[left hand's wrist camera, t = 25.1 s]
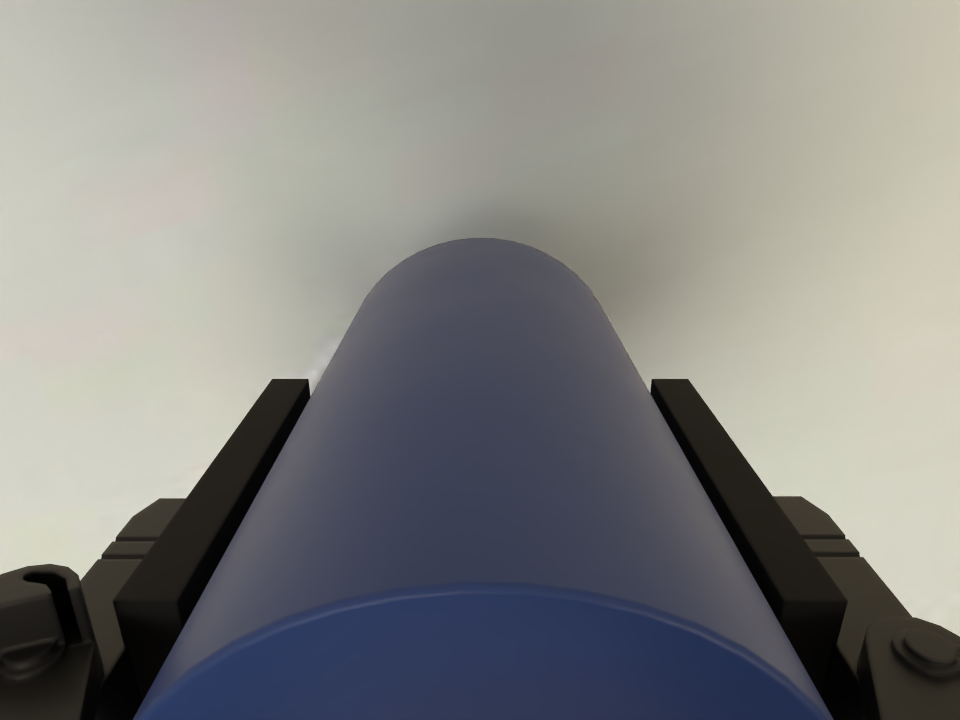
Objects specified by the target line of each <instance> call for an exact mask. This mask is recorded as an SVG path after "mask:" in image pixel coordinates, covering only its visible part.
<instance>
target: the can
mask: <svg viewBox="0 0 960 720" xmlns="http://www.w3.org/2000/svg"><path fill="white" fill-rule="evenodd" d="M133 720H834V719H833V718H832V716H831V714H830V712H829V710H828V709H827V707H826V705H825V703H824V702H823V700H822V698H821V696H820V695H819V693H818V691H817V689H816V687H815V686H814V684H813V682H812V680H811V679H810V677H809V675H808V673H807V671H806V670H805V668H804V666H803V664H802V663H801V661H800V659H799V657H798V655H797V654H796V652H795V650H794V648H793V647H792V645H791V643H790V641H789V639H788V638H787V636H786V634H785V632H784V631H783V629H782V627H781V625H780V623H779V622H778V620H777V618H776V616H775V615H774V613H773V611H772V609H771V607H770V606H769V604H768V602H767V600H766V599H765V597H764V595H763V593H762V591H761V590H760V588H759V586H758V584H757V583H756V581H755V579H754V577H753V575H752V574H751V572H750V570H749V568H748V567H747V565H746V563H745V561H744V559H743V558H742V556H741V554H740V552H739V551H738V549H737V547H736V545H735V543H734V542H733V540H732V538H731V536H730V535H729V533H728V531H727V529H726V528H725V526H724V524H723V522H722V520H721V519H720V517H719V515H718V513H717V512H716V510H715V508H714V506H713V504H712V503H711V501H710V499H709V497H708V496H707V494H706V492H705V490H704V488H703V487H702V485H701V483H700V481H699V480H698V478H697V476H696V474H695V472H694V471H693V469H692V467H691V465H690V464H689V462H688V460H687V458H686V456H685V455H684V453H683V451H682V449H681V448H680V446H679V444H678V442H677V440H676V439H675V437H674V435H673V433H672V432H671V430H670V428H669V426H668V424H667V423H666V421H665V419H664V417H663V416H662V414H661V412H660V410H659V408H658V407H657V405H656V403H655V401H654V400H653V398H652V396H651V394H650V392H649V391H648V389H647V387H646V385H645V384H644V382H643V380H642V378H641V376H640V375H639V373H638V371H637V369H636V368H635V366H634V364H633V362H632V360H631V359H630V357H629V355H628V353H627V352H626V350H625V348H624V346H623V345H622V343H621V341H620V339H619V337H618V336H617V334H616V332H615V330H614V329H613V327H612V325H611V323H610V321H609V320H608V318H607V316H606V314H605V313H604V311H603V309H602V307H601V305H600V304H599V302H598V300H597V299H596V298H595V296H594V295H593V293H592V292H591V290H590V289H589V288H588V287H587V285H586V284H585V283H584V282H583V281H582V280H581V279H580V278H579V277H578V276H577V275H576V274H575V273H574V272H572V271H571V270H570V269H569V268H568V267H566V266H565V265H564V264H563V263H561V262H559V261H558V260H556V259H554V258H553V257H551V256H550V255H548V254H546V253H544V252H541V251H539V250H537V249H535V248H532V247H530V246H527V245H523V244H520V243H516V242H513V241H507V240H500V239H494V238H470V239H461V240H454V241H450V242H446V243H442V244H438V245H435V246H432V247H430V248H427V249H425V250H422V251H420V252H418V253H416V254H414V255H412V256H411V257H409V258H407V259H405V260H403V261H402V262H401V263H399V264H398V265H397V266H395V267H394V268H393V269H391V270H390V271H389V272H388V273H387V274H386V275H385V276H384V277H383V278H382V279H381V280H380V281H379V282H378V283H377V284H376V285H375V286H374V287H373V289H372V290H371V291H370V293H369V294H368V295H367V297H366V298H365V300H364V302H363V303H362V305H361V307H360V309H359V311H358V312H357V314H356V316H355V318H354V320H353V321H352V323H351V325H350V327H349V329H348V330H347V332H346V334H345V336H344V338H343V340H342V341H341V343H340V345H339V347H338V349H337V350H336V352H335V354H334V356H333V358H332V359H331V361H330V363H329V365H328V367H327V369H326V370H325V372H324V374H323V376H322V378H321V379H320V381H319V383H318V385H317V387H316V388H315V390H314V392H313V394H312V396H311V398H310V399H309V401H308V403H307V405H306V407H305V408H304V410H303V412H302V414H301V416H300V417H299V419H298V421H297V423H296V425H295V426H294V428H293V430H292V432H291V434H290V436H289V437H288V439H287V441H286V443H285V445H284V446H283V448H282V450H281V452H280V454H279V455H278V457H277V459H276V461H275V463H274V465H273V466H272V468H271V470H270V472H269V474H268V475H267V477H266V479H265V481H264V483H263V484H262V486H261V488H260V490H259V492H258V494H257V495H256V497H255V499H254V501H253V503H252V504H251V506H250V508H249V510H248V512H247V513H246V515H245V517H244V519H243V521H242V523H241V524H240V526H239V528H238V530H237V532H236V533H235V535H234V537H233V539H232V541H231V542H230V544H229V546H228V548H227V550H226V552H225V553H224V555H223V557H222V559H221V561H220V562H219V564H218V566H217V568H216V570H215V571H214V573H213V575H212V577H211V579H210V581H209V582H208V584H207V586H206V588H205V590H204V591H203V593H202V595H201V597H200V599H199V600H198V602H197V604H196V606H195V608H194V610H193V611H192V613H191V615H190V617H189V619H188V620H187V622H186V624H185V626H184V628H183V629H182V631H181V633H180V635H179V637H178V639H177V640H176V642H175V644H174V646H173V648H172V649H171V651H170V653H169V655H168V657H167V658H166V660H165V662H164V664H163V666H162V668H161V669H160V671H159V673H158V675H157V677H156V678H155V680H154V682H153V684H152V686H151V687H150V689H149V691H148V693H147V695H146V697H145V698H144V700H143V702H142V704H141V706H140V707H139V709H138V711H137V713H136V715H135V716H134V718H133Z"/></svg>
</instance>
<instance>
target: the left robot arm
mask: <svg viewBox="0 0 960 720" xmlns="http://www.w3.org/2000/svg"><path fill="white" fill-rule="evenodd" d="M650 394H651V396H652V398H653V400H654V401H655V403H656V405H657V407H658V408H659V410H660V412H661V414H662V416H663V417H664V419H665V421H666V423H667V424H668V426H669V428H670V430H671V432H672V433H673V435H674V437H675V439H676V440H677V442H678V444H679V446H680V448H681V449H682V451H683V453H684V455H685V456H686V458H687V460H688V462H689V464H690V465H691V467H692V469H693V471H694V472H695V474H696V476H697V478H698V480H699V481H700V483H701V485H702V487H703V488H704V490H705V492H706V494H707V496H708V497H709V499H710V501H711V503H712V504H713V506H714V508H715V510H716V512H717V513H718V515H719V517H720V519H721V520H722V522H723V524H724V526H725V528H726V529H727V531H728V533H729V535H730V536H731V538H732V540H733V542H734V543H735V545H736V547H737V549H738V551H739V552H740V554H741V556H742V558H743V559H744V561H745V563H746V565H747V567H748V568H749V570H750V572H751V574H752V575H753V577H754V579H755V581H756V583H757V584H758V586H759V588H760V590H761V591H762V593H763V595H764V597H765V599H766V600H767V602H768V604H769V606H770V607H771V609H772V611H773V613H774V615H775V616H776V618H777V620H778V622H779V623H780V625H781V627H782V629H783V631H784V632H785V634H786V636H787V638H788V639H789V641H790V643H791V645H792V647H793V648H794V650H795V652H796V654H797V655H798V657H799V659H800V661H801V663H802V664H803V666H804V668H805V670H806V671H807V673H808V675H809V677H810V679H811V680H812V682H813V684H814V686H815V687H816V689H817V691H818V693H819V695H820V696H821V698H822V700H823V702H824V703H825V705H826V707H827V709H828V710H829V712H830V714H831V716H832V718H833V719H834V720H960V637H959V636H958V635H956V634H954V633H952V632H950V631H949V630H947V629H945V628H943V627H941V626H939V625H936V624H933V623H930V622H927V621H924V620H921V619H918V618H913V617H912V616H911V615H910V614H909V613H908V611H907V610H906V609H905V608H904V606H903V605H902V604H901V603H900V602H899V600H898V599H897V598H896V597H895V595H894V594H893V593H892V592H891V591H890V589H889V588H888V587H887V586H886V584H885V583H884V582H883V581H882V580H881V578H880V577H879V576H878V575H877V574H876V572H875V571H874V570H873V569H872V567H871V566H870V565H869V564H868V563H867V561H866V560H865V559H864V558H863V557H860V555H859V552H858V550H857V549H856V548H855V547H854V546H853V544H852V543H851V542H850V541H849V539H845V535H844V533H843V532H842V531H841V530H840V528H839V527H838V526H837V525H836V524H835V522H834V521H833V520H832V519H831V517H830V516H829V515H828V514H827V513H825V512H824V511H822V510H821V509H819V508H818V507H816V506H815V505H813V504H812V503H810V502H809V501H807V500H806V499H804V498H803V497H801V496H772V495H771V493H770V492H769V491H768V489H767V488H766V487H765V485H764V484H763V482H762V481H761V480H760V478H759V477H758V475H757V474H756V473H755V471H754V470H753V468H752V467H751V466H750V464H749V463H748V462H747V460H746V459H745V457H744V456H743V455H742V453H741V452H740V450H739V449H738V448H737V446H736V445H735V444H734V442H733V441H732V439H731V438H730V437H729V435H728V434H727V432H726V431H725V430H724V428H723V427H722V425H721V424H720V423H719V421H718V420H717V419H716V417H715V416H714V414H713V413H712V412H711V410H710V409H709V407H708V406H707V405H706V403H705V402H704V400H703V399H702V398H701V396H700V395H699V394H698V392H697V391H696V389H695V388H694V387H693V385H692V384H691V382H690V381H689V380H688V379H652V383H651V393H650ZM309 399H310V389H309V380H308V379H272V380H271V382H270V383H269V384H268V386H267V387H266V388H265V390H264V391H263V393H262V394H261V395H260V397H259V398H258V400H257V401H256V402H255V404H254V405H253V407H252V408H251V409H250V411H249V412H248V413H247V415H246V416H245V418H244V419H243V420H242V422H241V423H240V425H239V426H238V427H237V429H236V430H235V432H234V433H233V434H232V436H231V437H230V438H229V440H228V441H227V443H226V444H225V445H224V447H223V448H222V450H221V451H220V452H219V454H218V455H217V457H216V458H215V459H214V461H213V462H212V463H211V465H210V466H209V468H208V469H207V470H206V472H205V473H204V475H203V476H202V477H201V479H200V480H199V482H198V483H197V484H196V486H195V487H194V488H193V490H192V491H191V493H190V494H189V495H188V497H187V498H186V499H158V500H157V501H155V502H154V503H152V504H151V505H149V506H148V507H146V508H145V509H143V510H142V511H140V512H139V513H137V514H136V515H134V516H133V517H132V518H131V519H130V521H129V522H128V523H127V524H126V526H125V527H124V528H123V529H122V531H121V532H120V533H119V534H118V535H117V537H116V541H115V542H112V543H111V544H110V545H109V546H108V548H107V549H106V550H105V551H104V553H103V554H102V558H101V559H98V560H97V561H96V562H95V564H94V565H93V566H92V567H91V569H90V570H89V571H88V572H87V573H86V575H85V576H84V577H83V578H82V580H81V581H80V580H79V576H78V575H77V574H76V573H75V572H74V571H72V570H71V569H70V568H69V567H65V566H59V565H53V564H45V565H36V566H27V567H24V568H20V569H17V570H14V571H10V572H7V573H4V574H1V575H0V720H133V718H134V716H135V715H136V713H137V711H138V709H139V707H140V706H141V704H142V702H143V700H144V698H145V697H146V695H147V693H148V691H149V689H150V687H151V686H152V684H153V682H154V680H155V678H156V677H157V675H158V673H159V671H160V669H161V668H162V666H163V664H164V662H165V660H166V658H167V657H168V655H169V653H170V651H171V649H172V648H173V646H174V644H175V642H176V640H177V639H178V637H179V635H180V633H181V631H182V629H183V628H184V626H185V624H186V622H187V620H188V619H189V617H190V615H191V613H192V611H193V610H194V608H195V606H196V604H197V602H198V600H199V599H200V597H201V595H202V593H203V591H204V590H205V588H206V586H207V584H208V582H209V581H210V579H211V577H212V575H213V573H214V571H215V570H216V568H217V566H218V564H219V562H220V561H221V559H222V557H223V555H224V553H225V552H226V550H227V548H228V546H229V544H230V542H231V541H232V539H233V537H234V535H235V533H236V532H237V530H238V528H239V526H240V524H241V523H242V521H243V519H244V517H245V515H246V513H247V512H248V510H249V508H250V506H251V504H252V503H253V501H254V499H255V497H256V495H257V494H258V492H259V490H260V488H261V486H262V484H263V483H264V481H265V479H266V477H267V475H268V474H269V472H270V470H271V468H272V466H273V465H274V463H275V461H276V459H277V457H278V455H279V454H280V452H281V450H282V448H283V446H284V445H285V443H286V441H287V439H288V437H289V436H290V434H291V432H292V430H293V428H294V426H295V425H296V423H297V421H298V419H299V417H300V416H301V414H302V412H303V410H304V408H305V407H306V405H307V403H308V401H309Z"/></svg>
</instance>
